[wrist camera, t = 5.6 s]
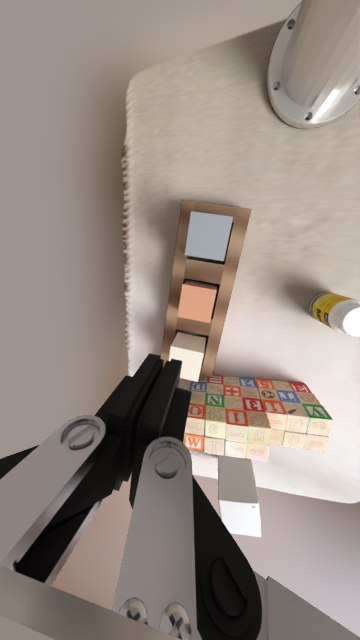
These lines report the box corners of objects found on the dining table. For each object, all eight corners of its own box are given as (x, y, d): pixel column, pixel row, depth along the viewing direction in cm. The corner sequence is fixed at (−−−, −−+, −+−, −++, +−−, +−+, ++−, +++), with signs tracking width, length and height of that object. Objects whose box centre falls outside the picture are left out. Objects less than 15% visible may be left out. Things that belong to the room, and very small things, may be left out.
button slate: (195, 221, 29) (191, 211, 23) (229, 225, 28) (233, 216, 22) (190, 256, 30) (184, 254, 25) (222, 261, 30) (223, 261, 24)
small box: (217, 431, 43) (217, 499, 31) (246, 432, 42) (260, 503, 29) (220, 459, 45) (222, 533, 33) (249, 460, 44) (262, 538, 31)
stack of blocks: (305, 381, 36) (348, 438, 25) (299, 409, 38) (337, 474, 26) (192, 372, 40) (183, 417, 28) (192, 397, 42) (183, 450, 30)
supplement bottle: (302, 305, 32) (330, 319, 24) (329, 286, 31) (369, 294, 23) (319, 325, 33) (352, 346, 25) (347, 308, 31) (391, 324, 23)
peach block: (187, 280, 34) (182, 284, 28) (216, 285, 33) (216, 290, 27) (183, 307, 35) (177, 316, 30) (210, 313, 35) (209, 323, 29)
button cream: (178, 332, 34) (170, 346, 29) (205, 337, 34) (204, 353, 28) (174, 356, 36) (166, 374, 30) (200, 362, 35) (197, 382, 30)
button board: (185, 205, 31) (181, 199, 28) (248, 213, 30) (252, 208, 27) (163, 358, 40) (159, 366, 37) (211, 368, 39) (211, 378, 35)
